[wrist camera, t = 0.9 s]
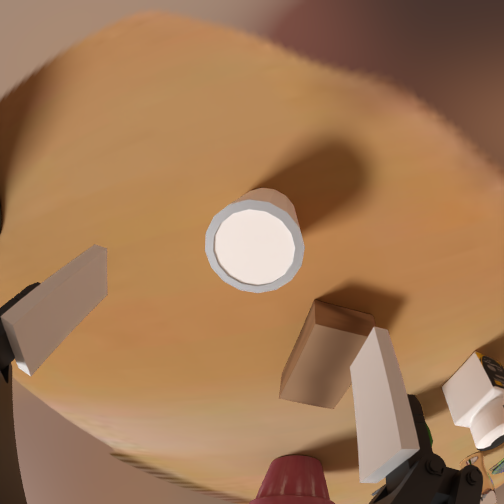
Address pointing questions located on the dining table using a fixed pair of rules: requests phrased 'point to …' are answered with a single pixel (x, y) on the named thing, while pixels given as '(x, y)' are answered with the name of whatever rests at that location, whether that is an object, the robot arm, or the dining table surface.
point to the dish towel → (498, 467)
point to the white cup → (256, 241)
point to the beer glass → (488, 490)
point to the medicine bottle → (478, 399)
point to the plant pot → (294, 482)
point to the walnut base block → (325, 355)
